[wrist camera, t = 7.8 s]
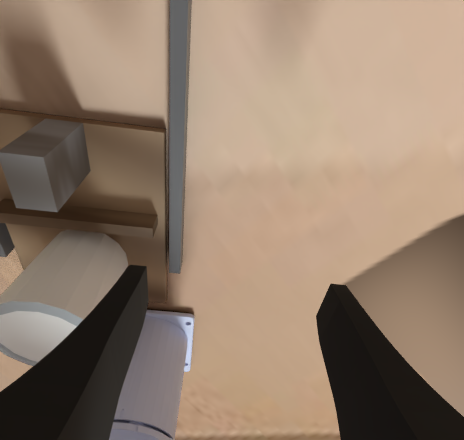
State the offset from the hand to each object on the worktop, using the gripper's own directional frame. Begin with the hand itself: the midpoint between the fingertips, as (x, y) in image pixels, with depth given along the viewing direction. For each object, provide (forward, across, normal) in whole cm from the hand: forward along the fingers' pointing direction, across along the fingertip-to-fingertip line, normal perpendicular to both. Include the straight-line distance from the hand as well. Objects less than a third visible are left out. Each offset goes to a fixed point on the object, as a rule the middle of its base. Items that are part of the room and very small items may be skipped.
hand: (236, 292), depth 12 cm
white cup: (+9, +10, +8) cm, 16 cm away
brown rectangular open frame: (+9, +10, +5) cm, 15 cm away
